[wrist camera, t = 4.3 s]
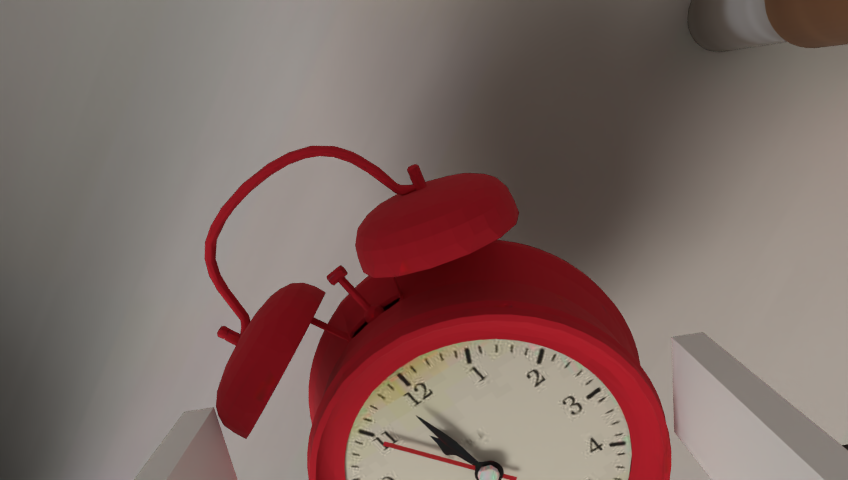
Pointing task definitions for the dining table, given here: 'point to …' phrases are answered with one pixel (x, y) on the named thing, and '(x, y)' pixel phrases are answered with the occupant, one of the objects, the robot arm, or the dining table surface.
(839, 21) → the wooden tool handle
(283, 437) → the dining table surface
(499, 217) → the alarm clock
